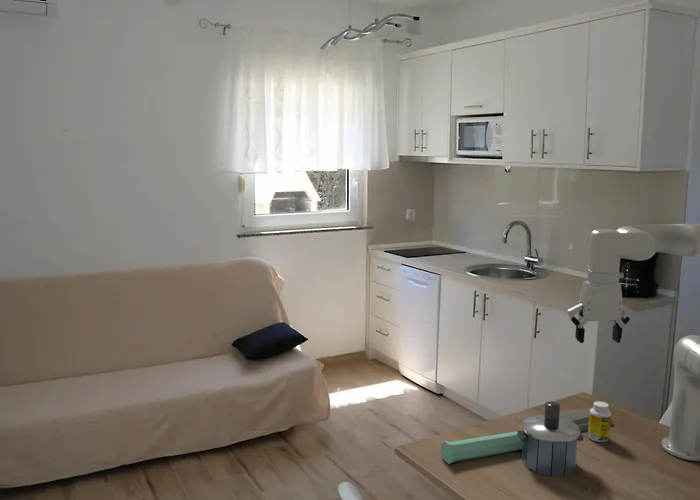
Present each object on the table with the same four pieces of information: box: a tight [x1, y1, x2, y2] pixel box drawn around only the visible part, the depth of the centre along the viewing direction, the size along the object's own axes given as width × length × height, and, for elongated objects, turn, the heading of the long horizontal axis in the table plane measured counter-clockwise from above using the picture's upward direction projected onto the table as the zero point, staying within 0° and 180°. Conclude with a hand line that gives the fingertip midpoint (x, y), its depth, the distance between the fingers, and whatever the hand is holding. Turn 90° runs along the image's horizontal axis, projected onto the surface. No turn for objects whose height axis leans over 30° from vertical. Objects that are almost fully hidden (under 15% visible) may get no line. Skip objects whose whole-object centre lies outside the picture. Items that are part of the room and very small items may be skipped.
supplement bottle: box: [587, 401, 612, 443], centre depth 181 cm, size 6×6×10 cm
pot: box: [517, 429, 585, 477], centre depth 167 cm, size 16×13×9 cm
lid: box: [522, 401, 581, 443], centre depth 165 cm, size 14×14×7 cm
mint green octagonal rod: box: [440, 430, 523, 465], centre depth 172 cm, size 6×6×25 cm
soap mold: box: [559, 407, 614, 432], centre depth 191 cm, size 10×20×4 cm, turn 113°
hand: (598, 341), depth 170 cm, fingers open, 9 cm apart
